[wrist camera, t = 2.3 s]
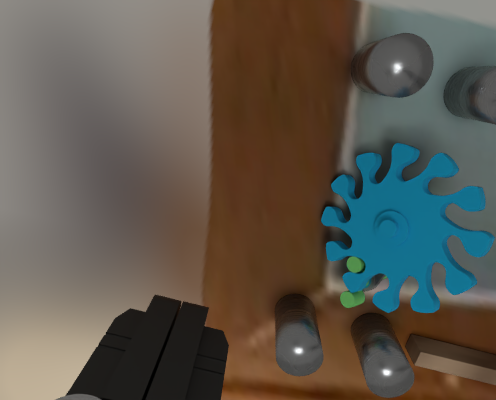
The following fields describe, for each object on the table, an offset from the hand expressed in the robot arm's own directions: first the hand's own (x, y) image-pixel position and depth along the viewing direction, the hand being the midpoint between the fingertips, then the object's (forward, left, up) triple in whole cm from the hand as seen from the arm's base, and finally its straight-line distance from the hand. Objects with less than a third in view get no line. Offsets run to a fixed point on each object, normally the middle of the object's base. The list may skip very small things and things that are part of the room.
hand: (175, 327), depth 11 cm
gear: (-10, 0, -17) cm, 20 cm away
